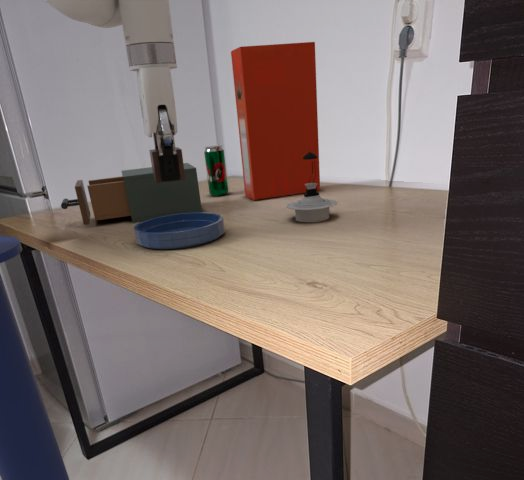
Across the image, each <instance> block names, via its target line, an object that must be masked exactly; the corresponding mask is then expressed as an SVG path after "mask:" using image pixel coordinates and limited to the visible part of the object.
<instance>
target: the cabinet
mask: <svg viewBox="0 0 524 480" xmlns="http://www.w3.org/2000/svg"><path fill="white" fill-rule="evenodd" d="M183 164H184V172H185V180H182V181H173V182H164V183H156V182H155V180H154V177H153V171H152V166H151V167H141V168H134V169H125V170H121V176H123V178H124V182H125V187H126V192H127V197H128V202H129V207H130V212H131V216H130V218H131V222H132V223H137V222H143V221H146V220H149V219H152V218H156V217H160V216H166V215H172V214H180V213H192V212H203V209H202V200H201V194H200V193H201V192H200V186H199V179H198V171H197V167H195V166H194V165H192V164H191V163H189V162H183Z"/></svg>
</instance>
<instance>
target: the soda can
mask: <svg viewBox="0 0 524 480" xmlns="http://www.w3.org/2000/svg"><path fill="white" fill-rule="evenodd" d="M204 160H205V169H206V177H207V185H208V193H209V195H210V196H211V197H223V196H224V197H225V196H227V195H228V193H229V183H228V175H227V165H226V157H225V150H224V148H223V146H222V145H210V146H205V147H204Z"/></svg>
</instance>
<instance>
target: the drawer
mask: <svg viewBox="0 0 524 480" xmlns="http://www.w3.org/2000/svg"><path fill="white" fill-rule="evenodd" d="M86 188H87V191H88V195H89V199H90V204H91V207H92V208H91V209H92V213H93V216H94V220H95V221H102V220H109V219H116V218H117V219H118V218H125V217H131V212H130V207H129V202H128V197H127V192H126V187H125V182H124V178H123V176H122V175H121V176H115V177H105V178H97V179H90V180H88V185H87V186H86ZM86 188H85V185H84V181H83V179H79V180H76V182H75V185H74V190H75V191H74V192H75V194H76V198H75V199H68V198H63V200H62V201H61V204H60V208H61V209H63V210H67V209H68V208H69V207H77V206H79V212H80V215H81V219H82V223H83V225H89V224H90V220H91V211H90V205H89V201H88V197H87V193H86Z"/></svg>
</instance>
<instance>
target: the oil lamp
mask: <svg viewBox="0 0 524 480" xmlns="http://www.w3.org/2000/svg"><path fill="white" fill-rule="evenodd" d="M316 158H317V156H316V155H315V154H313V153H311V152H310V151H309V153H307V154H306V155H305V156H304V157H303V159H305V160H307V159H316ZM314 165H315V160H314ZM312 174H313V162H312ZM311 177H312V176H311ZM311 177H310V178H311ZM315 177H316V172H315ZM314 179H315V178H314ZM314 179H313V180H314ZM309 182H310V180H309ZM317 184H318V183H307V184H305V186H306V187H307V189H306V191H307V192H306V193H303V197H302V198H301V199H299V200H296V201H292V202H290V203H288V204H286V209H289V210H294V213H295V214H294V215H295V222H296V221H297V222H299V223H316V222H323V221H327V220H328V219H330V207H334V206H337V205H338V204H339V202H338V200H334V199H329V198H323V197H321V195H320V192H319V191H317V188H316V186H317Z"/></svg>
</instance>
